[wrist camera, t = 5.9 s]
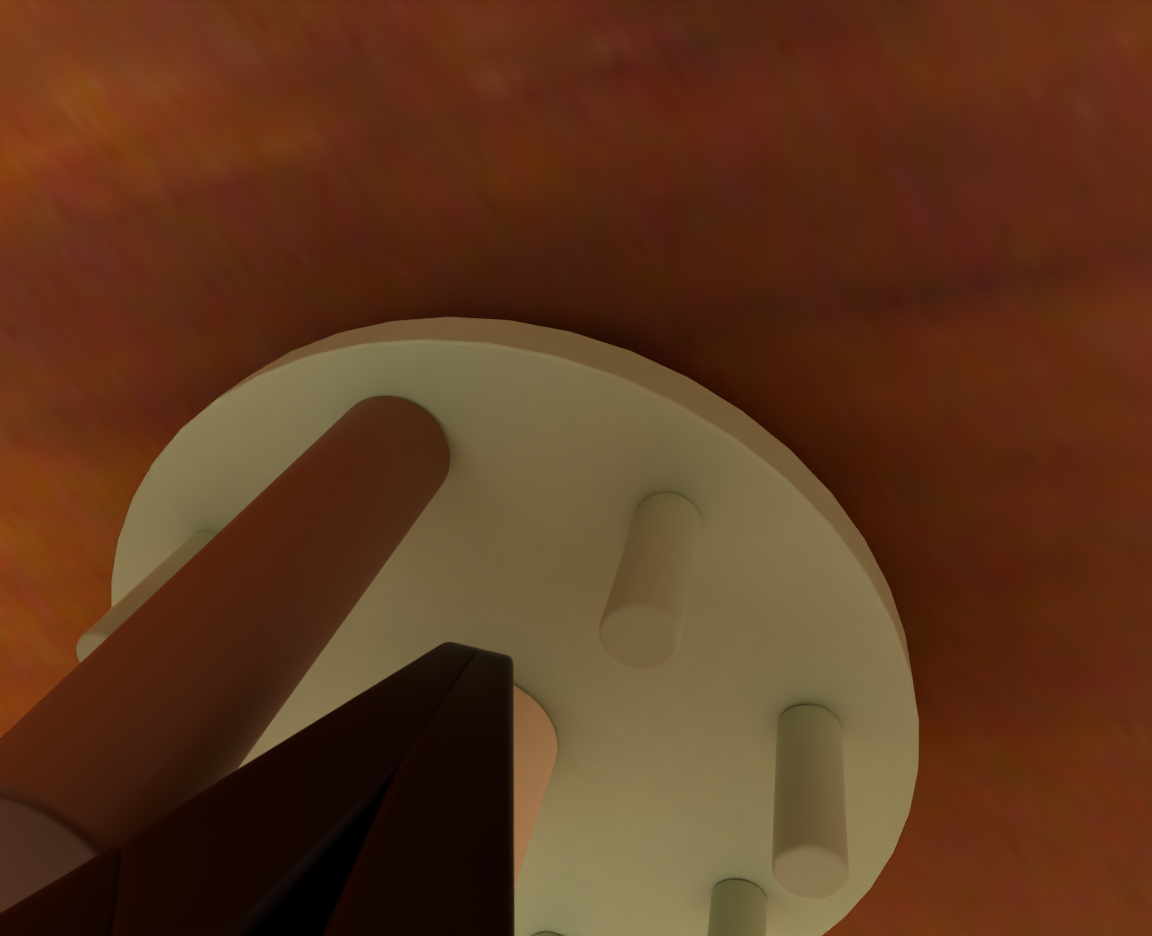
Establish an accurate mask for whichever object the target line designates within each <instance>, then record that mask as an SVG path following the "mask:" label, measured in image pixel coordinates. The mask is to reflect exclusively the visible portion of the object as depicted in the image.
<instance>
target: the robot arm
mask: <svg viewBox="0 0 1152 936" xmlns="http://www.w3.org/2000/svg"><path fill="white" fill-rule="evenodd" d="M0 936H515V906H514V667H513V660H512V658H511V657H510V656H508V655H505V654H501V653H497V652H493V651H489V650H484V649H480V648H476V647H472V646H468V645H464V644H460V643H455V642H445V643H442V644H440V645H439V646H437V647H435V648H434V649H432V650H431V651H429V652H427V653H426V654H424V655H422V656H421V657H419V658H418V659H416V660H414V661H413V662H411V663H409V664H408V665H406V666H405V667H403V668H401V669H400V670H398V671H396V672H395V673H393V674H392V675H390V676H388V677H387V678H385V679H383V680H382V681H380V682H379V683H377V684H375V685H374V686H372V687H370V688H369V689H367V690H366V691H364V692H362V693H361V694H359V695H357V696H356V697H354V698H353V699H351V700H349V701H348V702H346V703H344V704H343V705H341V706H340V707H338V708H336V709H335V710H333V711H331V712H330V713H328V714H327V715H325V716H323V717H322V718H320V719H318V720H317V721H315V722H314V723H312V724H310V725H309V726H307V727H305V728H304V729H302V730H301V731H299V732H297V733H296V734H294V735H292V736H291V737H289V738H288V739H286V740H284V741H283V742H281V743H279V744H278V745H276V746H275V747H273V748H271V749H270V750H268V751H266V752H265V753H263V754H262V755H260V756H258V757H257V758H255V759H253V760H252V761H250V762H249V763H247V764H245V765H244V766H242V767H240V768H239V769H237V770H235V771H234V772H232V773H231V774H229V775H227V776H226V777H224V778H222V779H221V780H219V781H218V782H216V783H214V784H213V785H211V786H209V787H208V788H206V789H205V790H203V791H201V792H200V793H198V794H196V795H195V796H193V797H192V798H190V799H188V800H187V801H185V802H183V803H182V804H180V805H179V806H177V807H175V808H174V809H172V810H170V811H169V812H167V813H166V814H164V815H162V816H161V817H159V818H157V819H156V820H154V821H153V822H151V823H149V824H148V825H146V826H144V827H143V828H141V829H140V830H138V831H136V832H135V833H133V834H131V835H130V836H128V837H127V838H125V839H124V840H123V841H122V843H121V849H120V848H119V847H117V846H112V847H110V848H108V849H106V850H105V851H103V852H102V853H100V854H98V855H97V856H95V857H93V858H92V859H90V860H89V861H87V862H85V863H84V864H82V865H80V866H79V867H77V868H75V869H74V870H72V871H71V872H69V873H67V874H66V875H64V876H62V877H60V878H59V879H57V880H55V881H54V882H52V883H50V884H49V885H47V886H45V887H43V888H42V889H40V890H38V891H37V892H35V893H33V894H31V895H30V896H28V897H26V898H25V899H23V900H21V901H20V902H18V903H16V904H14V905H13V906H11V907H9V908H8V909H6V910H4V911H2V912H1V913H0Z"/></svg>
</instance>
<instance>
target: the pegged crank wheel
mask: <svg viewBox="0 0 1152 936" xmlns="http://www.w3.org/2000/svg"><path fill="white" fill-rule="evenodd" d="M445 642H455V643H460V644H464V645H468V646H472V647H476V648H480V649H484V650H489V651H493V652H497V653H501V654H505V655H508V656H510V657H511V658H512V660H513V667H514V906H515V936H822V935H823V934H824V933H826V932H827V931H828V930H829V929H831V928H832V927H833V926H834V925H836V924H837V923H838V922H839V921H841V920H842V919H843V918H844V917H845V916H846V915H847V914H848V913H849V911H850V910H851V909H852V908H853V907H854V906H855V905H856V904H857V903H858V901H859V900H860V899H861V898H862V897H863V896H864V895H865V894H866V893H867V891H868V890H869V889H870V888H871V887H872V885H873V884H874V882H875V880H876V879H877V877H878V876H879V874H880V873H881V871H882V869H883V868H884V866H885V865H886V863H887V861H888V860H889V858H890V857H891V855H892V853H893V852H894V849H895V847H896V844H897V842H898V839H899V837H900V834H901V832H902V829H903V827H904V824H905V822H906V820H907V817H908V815H909V812H910V808H911V803H912V798H913V793H914V788H915V783H916V778H917V773H918V761H919V718H918V711H917V705H916V698H915V692H914V685H913V679H912V673H911V666H910V660H909V654H908V648H907V642H906V635H905V632H904V629H903V626H902V623H901V620H900V617H899V614H898V611H897V608H896V605H895V602H894V599H893V596H892V593H891V590H890V587H889V585H888V583H887V581H886V579H885V578H884V576H883V574H882V572H881V570H880V568H879V566H878V564H877V562H876V560H875V558H874V556H873V554H872V552H871V550H870V549H869V547H868V545H867V543H866V541H865V539H864V538H863V536H862V535H861V533H860V532H859V531H858V529H857V528H856V526H855V525H854V524H853V522H852V521H851V520H850V518H849V517H848V515H847V514H846V513H845V511H844V510H843V508H842V507H841V506H840V504H839V503H838V501H837V500H836V499H835V497H834V496H833V494H832V493H831V492H830V491H829V490H828V489H827V488H826V487H825V486H824V485H823V484H822V483H821V482H820V480H819V479H818V478H817V477H816V476H815V475H814V474H813V473H812V472H811V471H810V470H809V469H808V468H807V467H806V466H805V465H804V464H803V463H802V462H801V460H800V459H799V458H798V457H797V456H796V455H795V454H794V453H793V452H792V451H791V450H790V449H789V448H787V447H786V446H785V445H784V444H783V443H781V442H780V441H779V440H778V439H776V438H775V437H774V436H773V435H771V434H770V433H769V432H768V431H766V430H765V429H764V428H763V427H762V426H760V425H759V424H758V423H757V422H755V421H754V420H753V419H752V418H750V417H749V416H748V415H747V414H745V413H744V412H743V411H742V410H740V409H738V408H737V407H735V406H733V405H732V404H730V403H729V402H727V401H725V400H724V399H722V398H721V397H719V396H717V395H716V394H714V393H713V392H711V391H709V390H708V389H706V388H704V387H703V386H701V385H700V384H698V383H696V382H695V381H693V380H692V379H690V378H688V377H686V376H684V375H682V374H680V373H677V372H675V371H673V370H671V369H669V368H667V367H664V366H662V365H660V364H658V363H656V362H653V361H651V360H649V359H647V358H645V357H643V356H640V355H638V354H636V353H634V352H632V351H629V350H626V349H623V348H620V347H617V346H614V345H610V344H607V343H604V342H601V341H598V340H595V339H592V338H588V337H585V336H582V335H579V334H576V333H573V332H569V331H564V330H559V329H553V328H548V327H543V326H537V325H532V324H527V323H521V322H516V321H510V320H497V319H479V318H461V317H439V318H426V319H414V320H401V321H390V322H386V323H381V324H377V325H372V326H368V327H363V328H359V329H354V330H350V331H345V332H341V333H337V334H334V335H332V336H329V337H327V338H324V339H322V340H319V341H316V342H314V343H311V344H309V345H306V346H303V347H301V348H298V349H296V350H293V351H291V352H289V353H287V354H285V355H284V356H282V357H280V358H279V359H277V360H275V361H273V362H272V363H270V364H268V365H267V366H265V367H263V368H261V369H260V370H258V371H256V372H254V373H253V374H251V375H249V376H248V377H247V378H245V379H244V380H242V381H241V382H239V383H238V384H237V385H235V386H234V387H232V388H231V389H230V390H228V391H227V392H225V393H224V394H223V395H221V396H220V397H218V398H217V399H216V400H215V401H213V402H212V403H211V404H210V405H209V406H207V407H206V408H205V409H204V410H203V411H202V412H200V413H199V414H198V415H197V416H196V417H194V418H193V419H192V420H191V421H190V422H188V423H187V424H186V425H185V426H184V427H182V428H181V429H180V431H179V432H178V433H177V434H176V435H175V437H174V438H173V439H172V440H171V441H170V443H169V444H168V445H167V446H166V447H165V449H164V450H163V451H162V452H161V453H160V455H159V456H158V457H157V458H156V459H155V461H154V462H153V463H152V465H151V467H150V469H149V470H148V472H147V474H146V476H145V477H144V479H143V481H142V483H141V484H140V486H139V488H138V490H137V492H136V493H135V495H134V497H133V499H132V501H131V504H130V507H129V510H128V513H127V515H126V518H125V521H124V524H123V527H122V530H121V533H120V536H119V538H118V543H117V549H116V555H115V561H114V567H113V573H112V584H111V609H110V610H109V611H108V612H107V613H106V614H105V615H104V616H103V617H102V618H100V619H99V620H98V621H97V622H96V623H95V624H94V625H93V626H92V627H91V628H89V629H88V630H87V631H86V632H85V633H84V634H83V635H82V636H81V637H80V638H79V640H78V643H77V647H76V653H77V657H78V660H79V662H80V664H79V665H78V666H77V667H76V668H75V669H74V670H73V671H72V672H70V673H69V674H68V675H67V676H66V677H65V678H64V679H63V680H62V681H61V682H60V683H59V684H58V685H57V686H56V687H55V688H54V689H52V690H51V691H50V692H49V693H48V694H47V695H46V696H45V697H44V698H43V699H42V700H41V701H40V702H39V703H38V704H37V705H36V706H34V707H33V708H32V709H31V710H30V711H29V712H28V713H27V714H26V715H25V716H24V717H23V718H22V719H21V720H20V721H19V722H17V723H16V724H15V725H14V726H13V727H12V728H11V729H10V730H9V731H8V732H7V733H6V734H5V735H4V736H3V737H2V738H1V739H0V913H1V912H2V911H4V910H6V909H8V908H9V907H11V906H13V905H14V904H16V903H18V902H20V901H21V900H23V899H25V898H26V897H28V896H30V895H31V894H33V893H35V892H37V891H38V890H40V889H42V888H43V887H45V886H47V885H49V884H50V883H52V882H54V881H55V880H57V879H59V878H60V877H62V876H64V875H66V874H67V873H69V872H71V871H72V870H74V869H75V868H77V867H79V866H80V865H82V864H84V863H85V862H87V861H89V860H90V859H92V858H93V857H95V856H97V855H98V854H100V853H102V852H103V851H105V850H106V849H108V848H110V847H112V846H117V847H119V848H120V849H121V843H122V841H123V840H124V839H125V838H127V837H128V836H130V835H131V834H133V833H135V832H136V831H138V830H140V829H141V828H143V827H144V826H146V825H148V824H149V823H151V822H153V821H154V820H156V819H157V818H159V817H161V816H162V815H164V814H166V813H167V812H169V811H170V810H172V809H174V808H175V807H177V806H179V805H180V804H182V803H183V802H185V801H187V800H188V799H190V798H192V797H193V796H195V795H196V794H198V793H200V792H201V791H203V790H205V789H206V788H208V787H209V786H211V785H213V784H214V783H216V782H218V781H219V780H221V779H222V778H224V777H226V776H227V775H229V774H231V773H232V772H234V771H235V770H237V769H239V768H240V767H242V766H244V765H245V764H247V763H249V762H250V761H252V760H253V759H255V758H257V757H258V756H260V755H262V754H263V753H265V752H266V751H268V750H270V749H271V748H273V747H275V746H276V745H278V744H279V743H281V742H283V741H284V740H286V739H288V738H289V737H291V736H292V735H294V734H296V733H297V732H299V731H301V730H302V729H304V728H305V727H307V726H309V725H310V724H312V723H314V722H315V721H317V720H318V719H320V718H322V717H323V716H325V715H327V714H328V713H330V712H331V711H333V710H335V709H336V708H338V707H340V706H341V705H343V704H344V703H346V702H348V701H349V700H351V699H353V698H354V697H356V696H357V695H359V694H361V693H362V692H364V691H366V690H367V689H369V688H370V687H372V686H374V685H375V684H377V683H379V682H380V681H382V680H383V679H385V678H387V677H388V676H390V675H392V674H393V673H395V672H396V671H398V670H400V669H401V668H403V667H405V666H406V665H408V664H409V663H411V662H413V661H414V660H416V659H418V658H419V657H421V656H422V655H424V654H426V653H427V652H429V651H431V650H432V649H434V648H435V647H437V646H439V645H440V644H442V643H445Z"/></svg>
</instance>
